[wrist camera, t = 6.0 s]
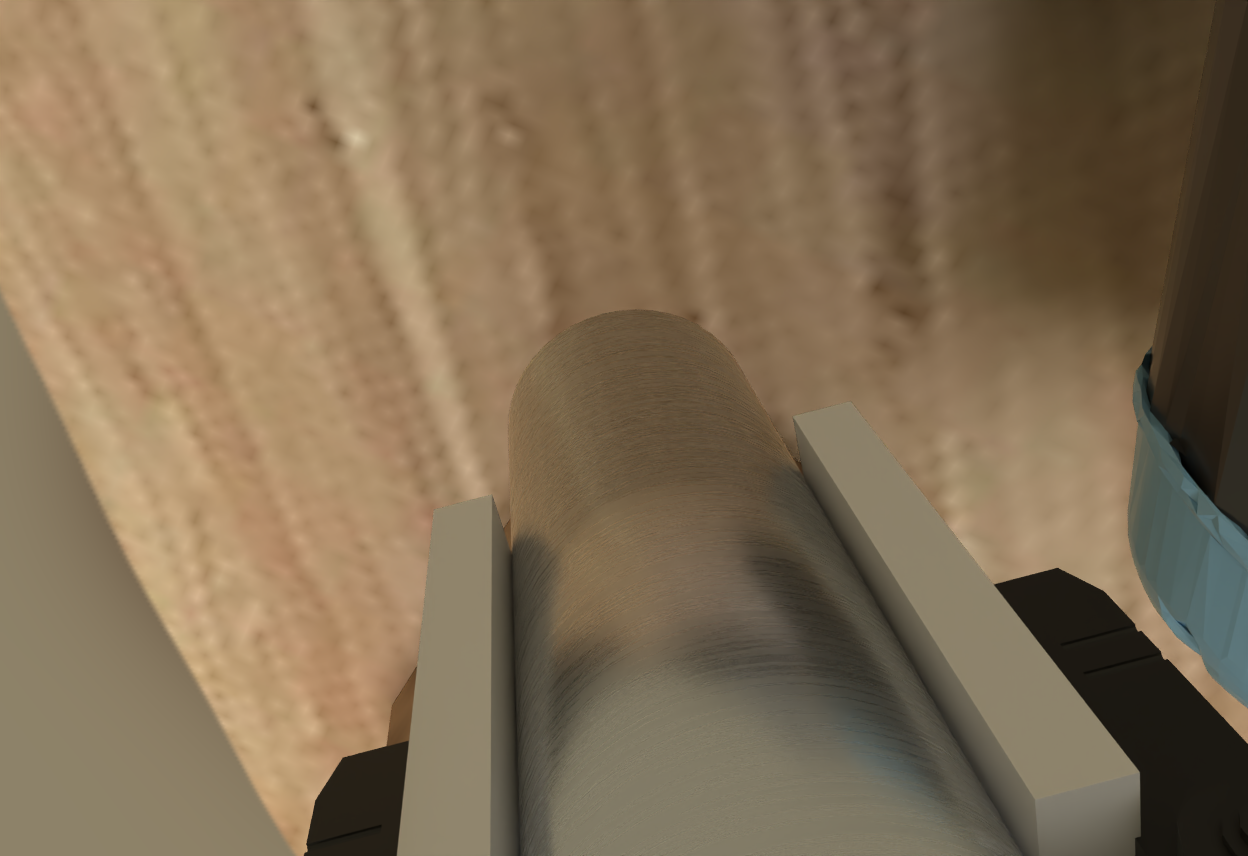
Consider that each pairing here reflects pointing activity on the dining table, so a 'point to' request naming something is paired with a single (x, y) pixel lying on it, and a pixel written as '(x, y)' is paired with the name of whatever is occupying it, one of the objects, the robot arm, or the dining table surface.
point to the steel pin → (703, 628)
